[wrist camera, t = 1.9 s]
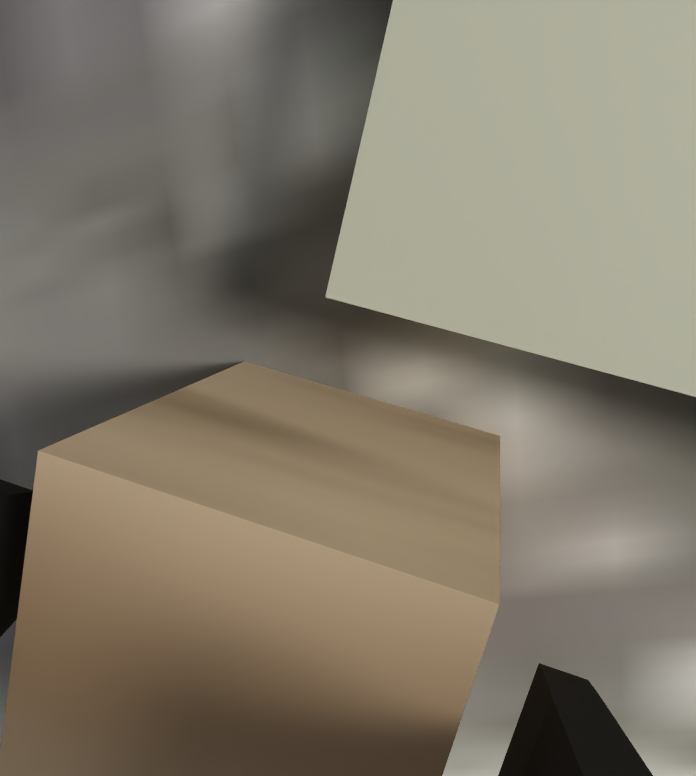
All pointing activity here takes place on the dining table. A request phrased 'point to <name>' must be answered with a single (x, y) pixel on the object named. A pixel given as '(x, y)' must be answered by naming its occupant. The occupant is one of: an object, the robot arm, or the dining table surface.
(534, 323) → the sage slab
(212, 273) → the dining table surface
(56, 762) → the maple block
